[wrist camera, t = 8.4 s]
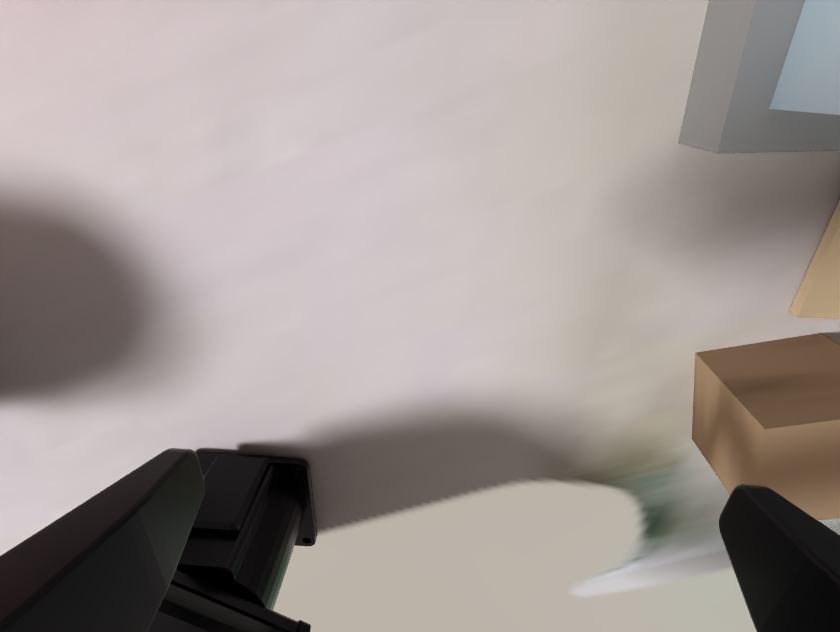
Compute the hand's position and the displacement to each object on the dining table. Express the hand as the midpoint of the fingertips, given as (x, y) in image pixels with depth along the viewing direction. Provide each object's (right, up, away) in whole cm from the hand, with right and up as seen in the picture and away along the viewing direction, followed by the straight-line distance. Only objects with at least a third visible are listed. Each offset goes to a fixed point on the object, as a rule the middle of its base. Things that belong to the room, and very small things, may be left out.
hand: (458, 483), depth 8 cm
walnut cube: (+14, 0, +13) cm, 19 cm away
